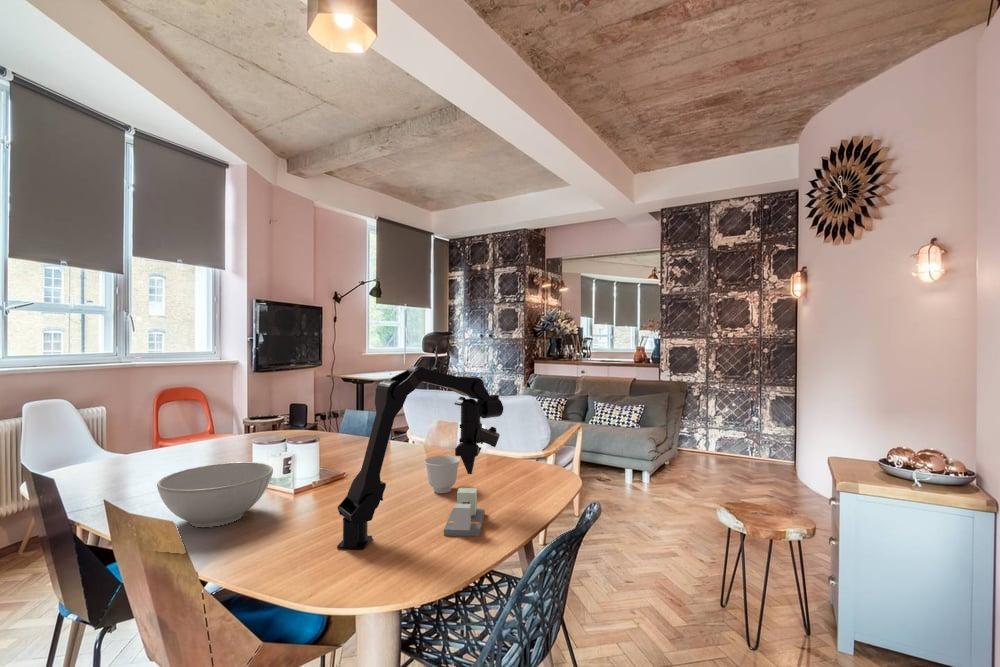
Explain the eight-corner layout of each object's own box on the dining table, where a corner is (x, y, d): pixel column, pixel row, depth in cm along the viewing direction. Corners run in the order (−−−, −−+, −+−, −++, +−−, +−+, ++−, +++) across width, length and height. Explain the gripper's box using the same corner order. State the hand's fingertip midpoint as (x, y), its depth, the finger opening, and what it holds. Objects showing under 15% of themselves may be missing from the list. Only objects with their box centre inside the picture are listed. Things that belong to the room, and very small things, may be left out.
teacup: (468, 484, 154) (468, 454, 155) (452, 498, 140) (452, 466, 140) (436, 481, 157) (436, 452, 158) (417, 494, 143) (417, 463, 143)
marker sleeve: (475, 515, 121) (475, 493, 121) (456, 514, 121) (457, 492, 121) (476, 509, 125) (476, 488, 125) (459, 509, 125) (459, 487, 125)
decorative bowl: (292, 512, 127) (293, 470, 127) (187, 549, 104) (189, 497, 104) (239, 496, 141) (240, 457, 141) (136, 525, 117) (137, 479, 118)
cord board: (479, 536, 112) (479, 508, 112) (443, 535, 112) (444, 507, 113) (484, 514, 127) (484, 489, 127) (453, 513, 127) (453, 488, 128)
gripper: (496, 426, 121) (495, 484, 120) (499, 415, 139) (499, 466, 139) (455, 425, 121) (454, 483, 121) (464, 415, 140) (463, 465, 139)
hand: (469, 473), depth 130 cm, fingers closed
